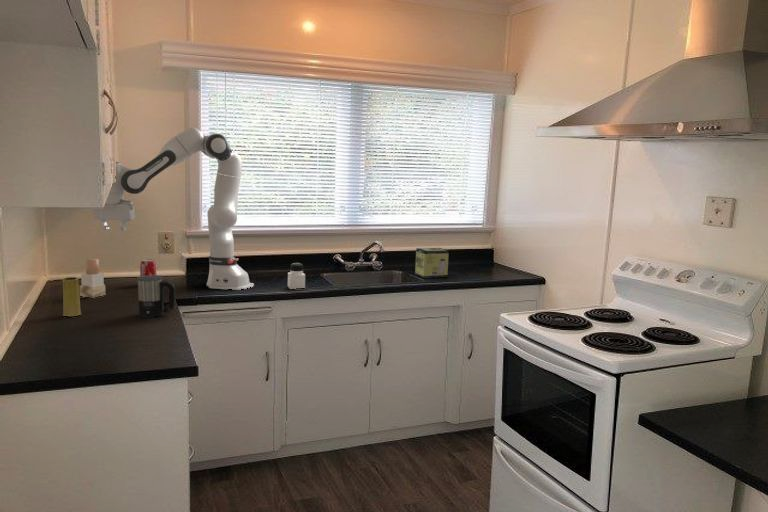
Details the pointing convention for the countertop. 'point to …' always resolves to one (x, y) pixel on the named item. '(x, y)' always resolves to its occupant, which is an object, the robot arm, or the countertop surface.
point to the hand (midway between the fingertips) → (115, 230)
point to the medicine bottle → (296, 276)
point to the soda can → (147, 267)
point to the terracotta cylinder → (92, 266)
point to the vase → (71, 297)
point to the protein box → (431, 262)
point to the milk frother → (154, 295)
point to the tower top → (92, 279)
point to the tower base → (92, 291)
